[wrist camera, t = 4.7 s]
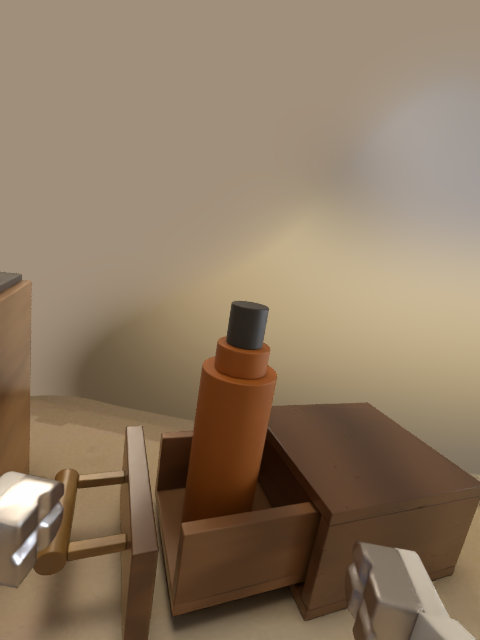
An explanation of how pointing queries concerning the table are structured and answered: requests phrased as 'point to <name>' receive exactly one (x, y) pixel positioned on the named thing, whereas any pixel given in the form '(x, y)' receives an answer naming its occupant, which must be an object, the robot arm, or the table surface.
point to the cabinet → (369, 493)
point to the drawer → (190, 533)
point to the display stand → (15, 372)
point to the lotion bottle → (231, 419)
